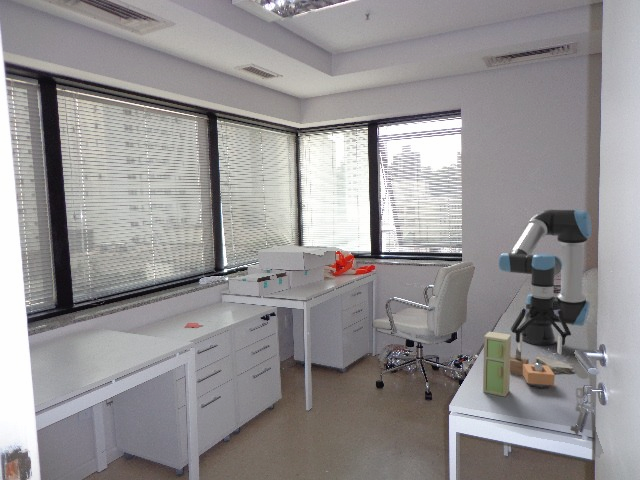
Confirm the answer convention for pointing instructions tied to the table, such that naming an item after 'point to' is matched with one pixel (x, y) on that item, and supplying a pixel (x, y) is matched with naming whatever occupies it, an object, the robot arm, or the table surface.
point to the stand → (517, 363)
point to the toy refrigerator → (496, 363)
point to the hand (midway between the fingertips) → (539, 351)
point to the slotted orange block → (538, 375)
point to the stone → (555, 365)
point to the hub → (538, 368)
